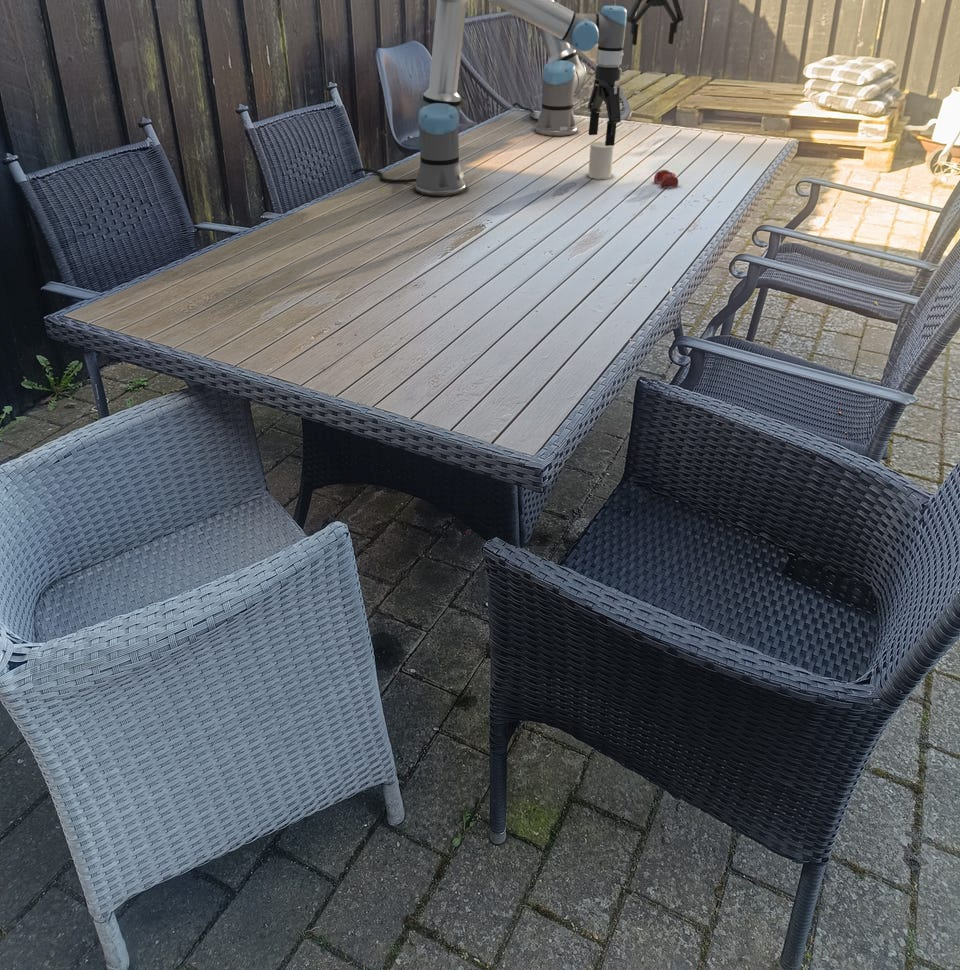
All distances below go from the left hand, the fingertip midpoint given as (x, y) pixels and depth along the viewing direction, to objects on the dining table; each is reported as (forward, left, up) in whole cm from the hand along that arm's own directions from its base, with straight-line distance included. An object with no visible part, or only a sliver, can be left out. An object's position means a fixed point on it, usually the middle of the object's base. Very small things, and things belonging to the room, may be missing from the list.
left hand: (601, 140), depth 264 cm
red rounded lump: (+22, +5, -11) cm, 25 cm away
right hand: (-19, +63, +18) cm, 68 cm away
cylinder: (0, 0, -11) cm, 11 cm away
